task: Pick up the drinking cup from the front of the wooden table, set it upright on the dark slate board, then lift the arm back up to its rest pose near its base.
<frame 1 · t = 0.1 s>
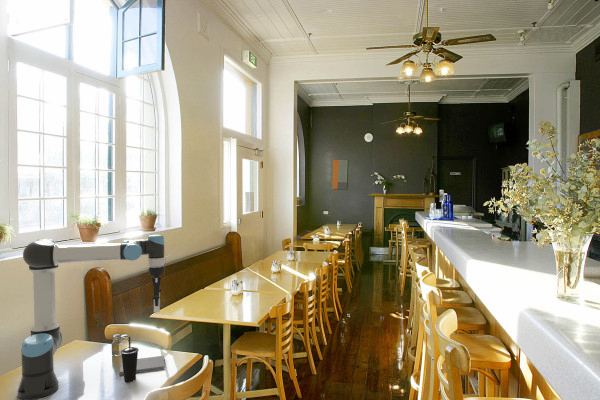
hand: (157, 308, 212), 28 cm above the table, tool pointing down, fingers open, 13 cm apart
slate board: (142, 366, 210), on the table
drinking cup: (130, 380, 196), on the table
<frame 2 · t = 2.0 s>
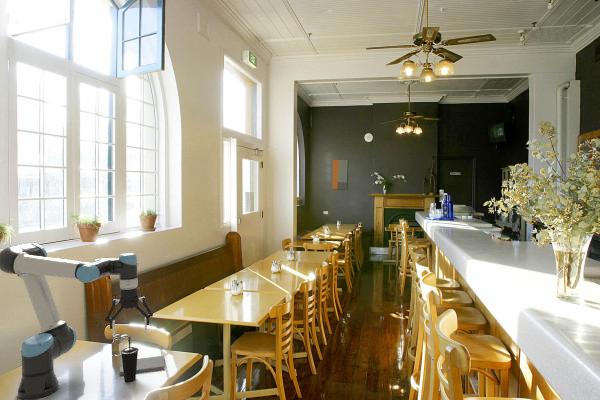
hand: (130, 334, 195), 21 cm above the table, tool pointing down, fingers open, 13 cm apart
nothing on the table moved.
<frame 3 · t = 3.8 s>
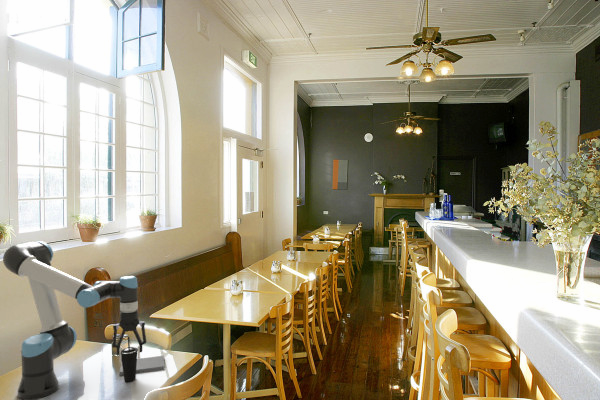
hand: (129, 360, 195), 9 cm above the table, tool pointing down, fingers closed on drinking cup, 7 cm apart
drinking cup: (130, 380, 196), on the table, touching gripper
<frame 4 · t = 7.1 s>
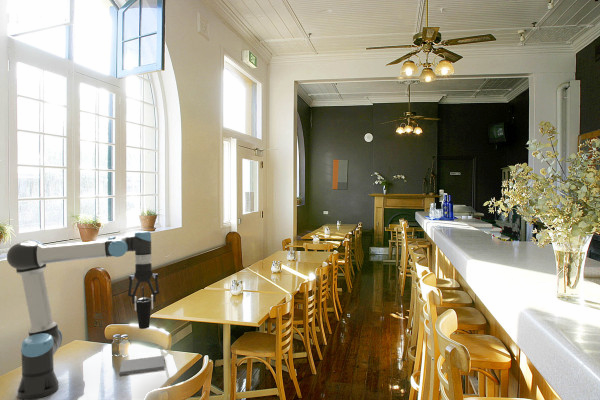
hand: (144, 309, 210), 28 cm above the table, tool pointing down, fingers closed on drinking cup, 7 cm apart
drinking cup: (144, 327, 210), point 19 cm above the table, touching gripper
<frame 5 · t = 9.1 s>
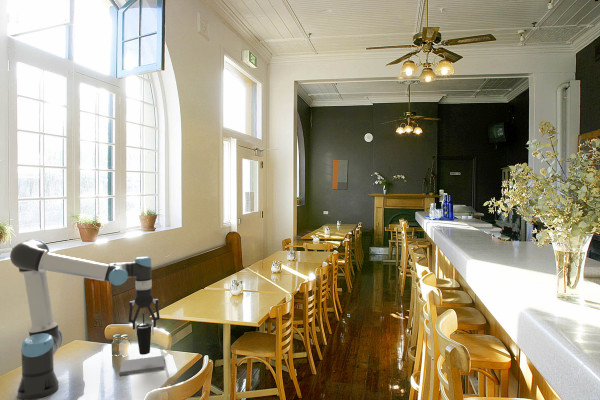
hand: (144, 334, 210), 16 cm above the table, tool pointing down, fingers closed on drinking cup, 7 cm apart
drinking cup: (144, 353, 211), point 6 cm above the table, touching gripper
when the fingers open (12 cm above the table, at t = 10.8 s): drinking cup drops 1 cm, resting on slate board.
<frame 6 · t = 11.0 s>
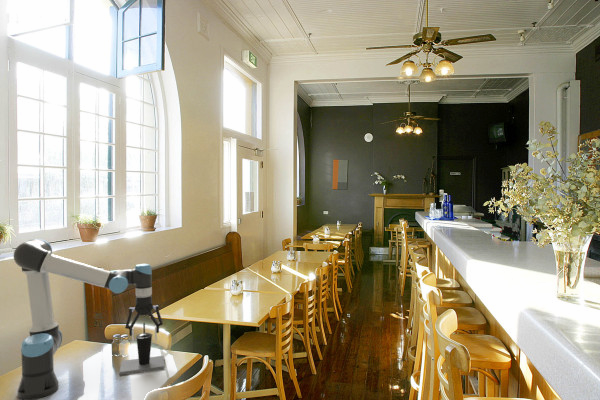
hand: (144, 340, 210), 13 cm above the table, tool pointing down, fingers open, 10 cm apart
drinking cup: (144, 363, 211), point 1 cm above the table, touching slate board
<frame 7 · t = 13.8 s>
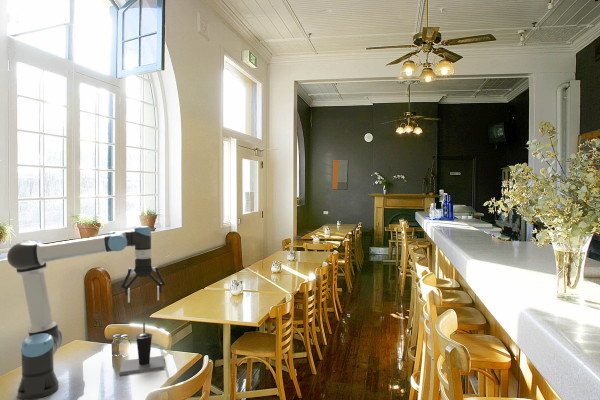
hand: (143, 300, 210), 32 cm above the table, tool pointing down, fingers open, 13 cm apart
nothing on the table moved.
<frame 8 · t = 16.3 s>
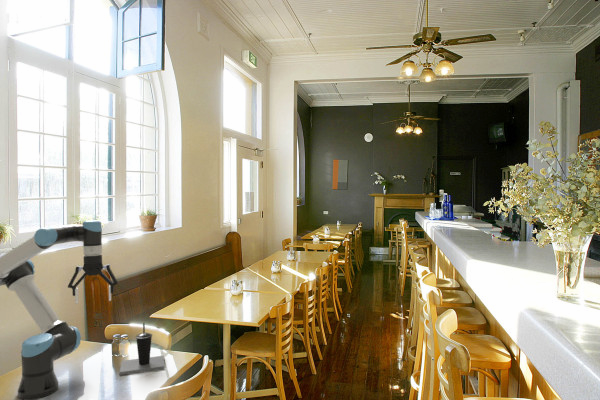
hand: (93, 301, 193), 37 cm above the table, tool pointing down, fingers open, 13 cm apart
nothing on the table moved.
at the end: drinking cup inside the target area on the slate board (0.8 cm from its centre), point 1.3 cm above the slate board's base; drinking cup tilted 0°; the gripper is holding nothing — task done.
